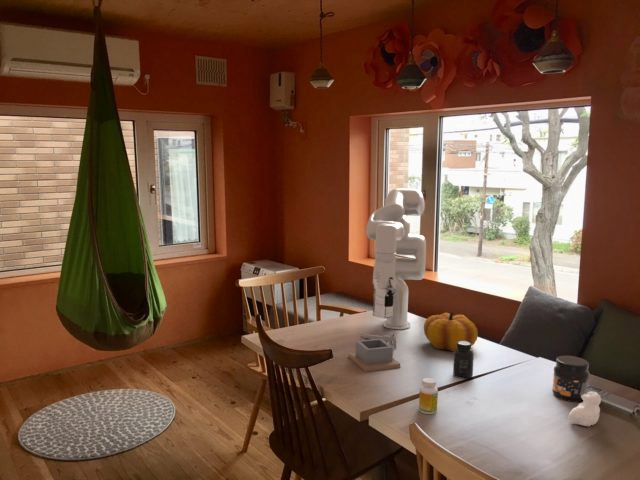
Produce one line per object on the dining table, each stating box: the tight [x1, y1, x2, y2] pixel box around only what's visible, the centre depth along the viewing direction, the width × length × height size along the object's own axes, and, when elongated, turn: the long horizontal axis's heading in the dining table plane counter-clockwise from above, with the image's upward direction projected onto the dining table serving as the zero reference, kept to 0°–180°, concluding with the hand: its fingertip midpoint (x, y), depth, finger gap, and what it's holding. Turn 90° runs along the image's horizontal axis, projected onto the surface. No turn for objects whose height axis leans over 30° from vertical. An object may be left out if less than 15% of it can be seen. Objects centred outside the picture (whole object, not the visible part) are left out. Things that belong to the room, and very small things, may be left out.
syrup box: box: [372, 278, 395, 320], centre depth 206 cm, size 6×6×14 cm
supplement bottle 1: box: [418, 377, 439, 415], centre depth 167 cm, size 5×5×10 cm
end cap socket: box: [348, 339, 401, 373], centre depth 207 cm, size 16×14×7 cm
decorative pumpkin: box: [423, 311, 479, 353], centre depth 225 cm, size 20×22×15 cm
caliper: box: [360, 333, 397, 350], centre depth 229 cm, size 20×1×6 cm, turn 38°
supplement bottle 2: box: [452, 341, 475, 380], centre depth 195 cm, size 7×7×12 cm
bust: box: [567, 390, 602, 427], centre depth 160 cm, size 12×8×11 cm
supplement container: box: [552, 355, 590, 402], centre depth 179 cm, size 10×10×12 cm
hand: (383, 303), depth 206 cm, fingers closed on syrup box, 7 cm apart
